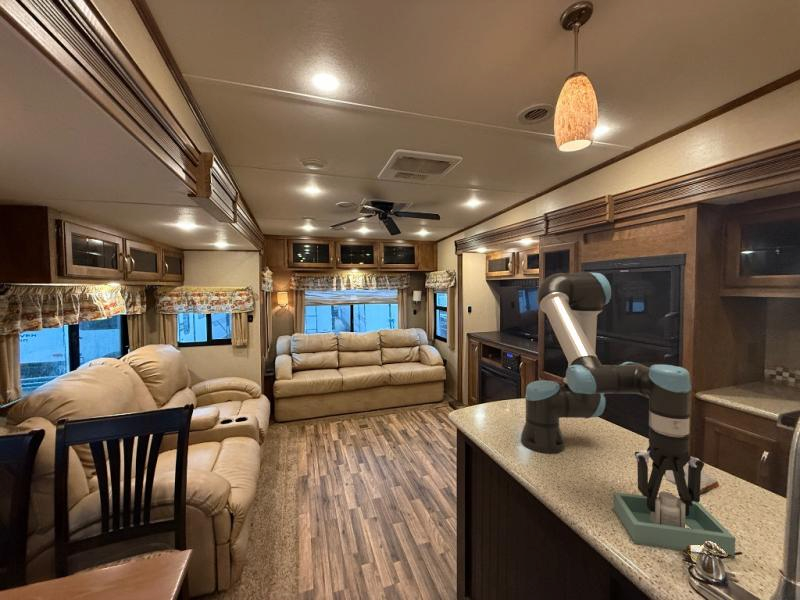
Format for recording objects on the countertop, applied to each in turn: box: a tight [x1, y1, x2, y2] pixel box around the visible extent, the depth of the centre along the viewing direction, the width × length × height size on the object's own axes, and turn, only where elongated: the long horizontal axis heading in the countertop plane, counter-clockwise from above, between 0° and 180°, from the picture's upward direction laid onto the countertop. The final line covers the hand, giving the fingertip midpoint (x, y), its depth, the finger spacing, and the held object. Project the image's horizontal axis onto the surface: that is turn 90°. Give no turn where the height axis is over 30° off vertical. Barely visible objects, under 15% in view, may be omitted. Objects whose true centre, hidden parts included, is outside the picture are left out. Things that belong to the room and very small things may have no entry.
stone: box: [664, 464, 720, 494], centre depth 98 cm, size 10×12×4 cm
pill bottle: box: [658, 491, 680, 527], centre depth 79 cm, size 4×4×8 cm
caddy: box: [612, 491, 736, 559], centre depth 79 cm, size 12×19×5 cm, turn 76°
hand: (667, 525), depth 79 cm, fingers closed on pill bottle, 4 cm apart
